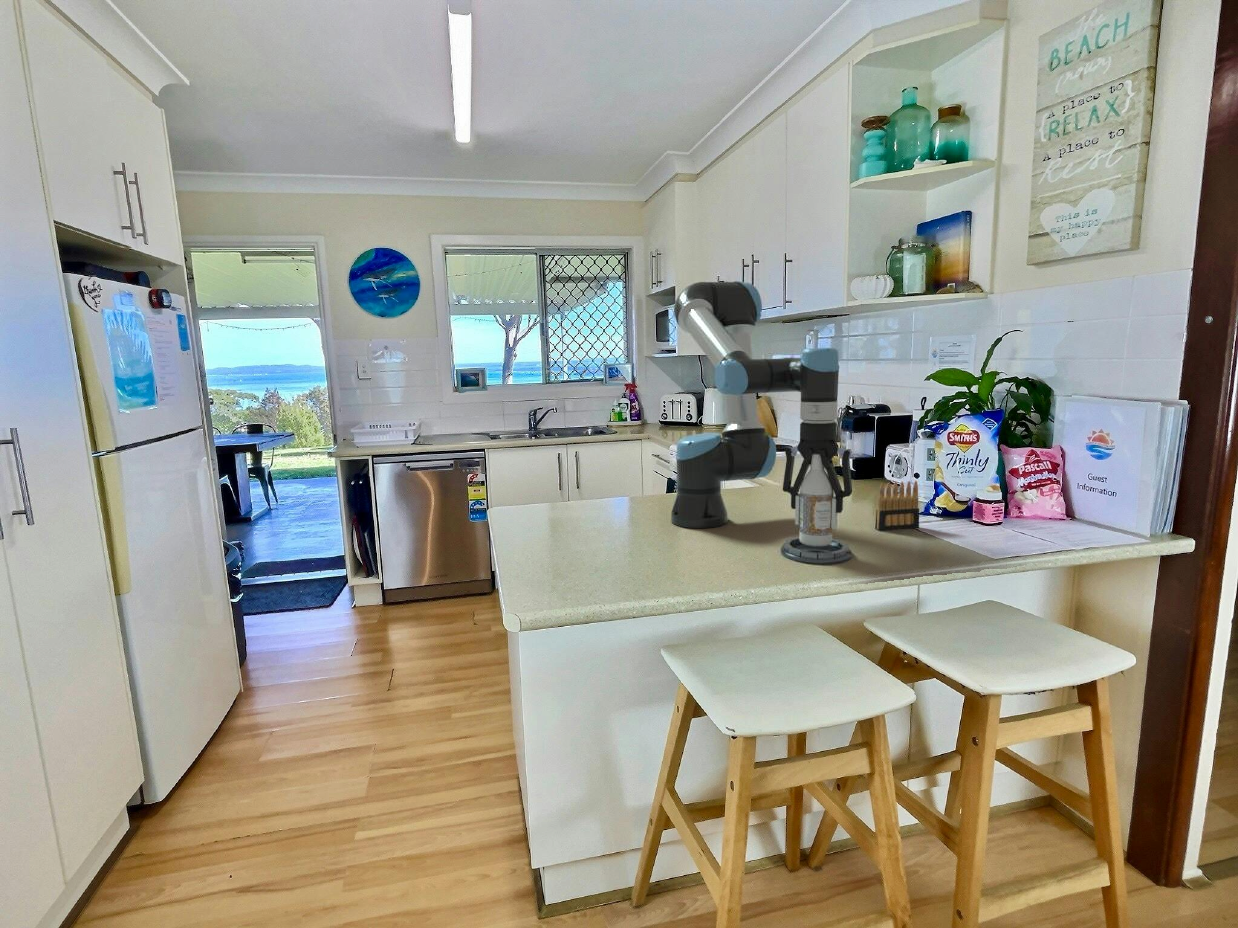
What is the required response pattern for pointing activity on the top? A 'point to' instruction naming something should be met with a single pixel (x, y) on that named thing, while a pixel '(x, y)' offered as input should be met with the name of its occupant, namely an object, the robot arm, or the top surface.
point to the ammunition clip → (897, 508)
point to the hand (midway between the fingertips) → (816, 524)
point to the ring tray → (816, 552)
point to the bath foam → (816, 506)
